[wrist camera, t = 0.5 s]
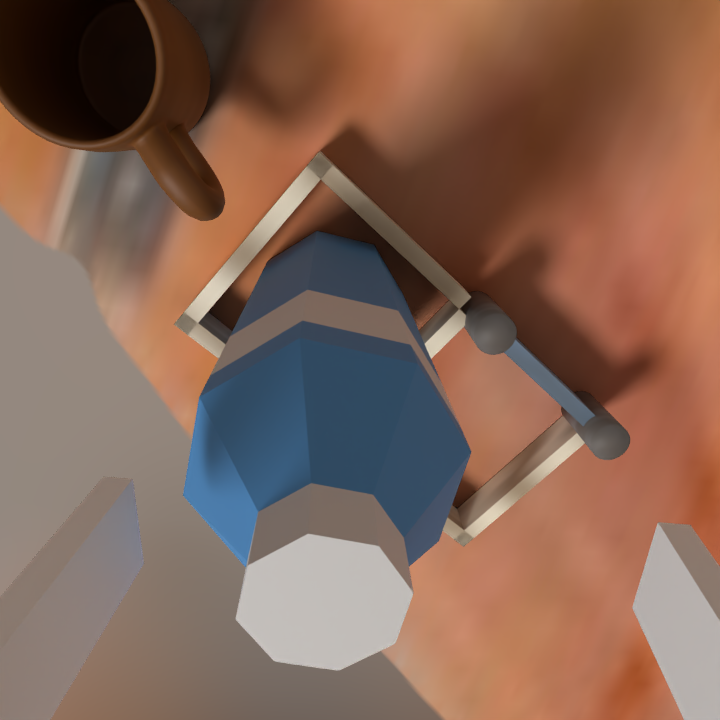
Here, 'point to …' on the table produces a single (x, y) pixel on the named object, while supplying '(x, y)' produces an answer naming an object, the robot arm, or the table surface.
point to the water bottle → (325, 454)
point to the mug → (113, 86)
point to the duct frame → (435, 349)
